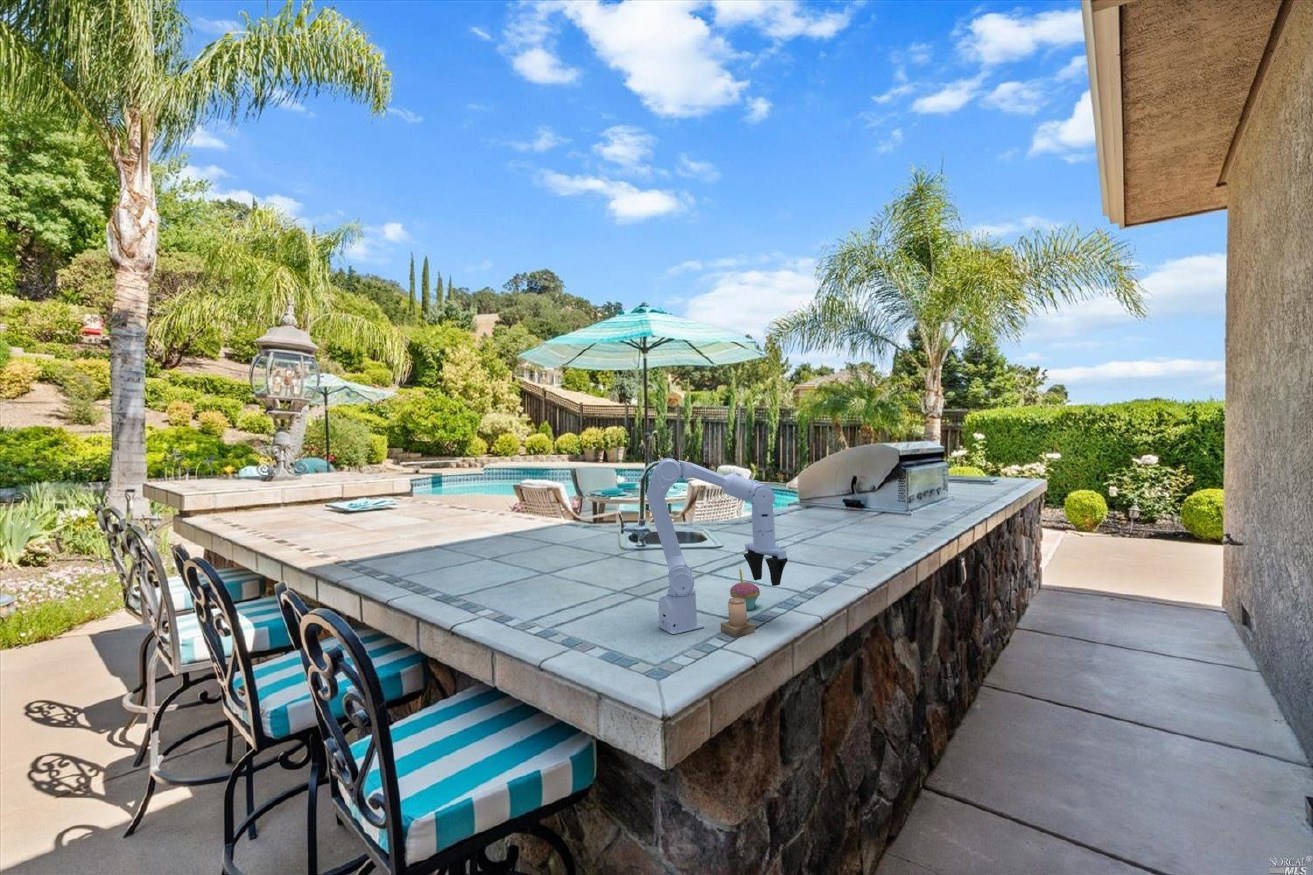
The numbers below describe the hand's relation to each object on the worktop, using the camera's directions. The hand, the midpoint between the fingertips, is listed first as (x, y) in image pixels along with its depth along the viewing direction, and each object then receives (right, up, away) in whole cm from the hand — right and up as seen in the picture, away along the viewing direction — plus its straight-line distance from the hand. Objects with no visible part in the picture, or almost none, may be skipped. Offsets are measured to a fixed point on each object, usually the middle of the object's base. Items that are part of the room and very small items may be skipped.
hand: (766, 582), depth 150 cm
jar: (-8, -9, -6) cm, 14 cm away
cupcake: (-3, -11, +14) cm, 18 cm away
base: (-8, -11, -6) cm, 15 cm away
